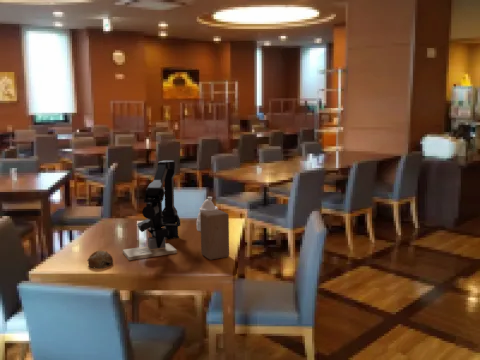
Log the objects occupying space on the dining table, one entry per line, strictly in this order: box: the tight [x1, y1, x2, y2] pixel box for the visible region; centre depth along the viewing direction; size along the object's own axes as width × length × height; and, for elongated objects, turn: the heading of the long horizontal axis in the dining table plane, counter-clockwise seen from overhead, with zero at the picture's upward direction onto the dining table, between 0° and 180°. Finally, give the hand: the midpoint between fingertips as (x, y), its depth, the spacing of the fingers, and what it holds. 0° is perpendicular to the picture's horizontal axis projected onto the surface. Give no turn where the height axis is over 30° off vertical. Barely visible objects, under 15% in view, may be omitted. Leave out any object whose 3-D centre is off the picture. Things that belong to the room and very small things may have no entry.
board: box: [122, 242, 178, 261], centre depth 219 cm, size 22×12×2 cm, turn 116°
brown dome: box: [87, 250, 114, 269], centre depth 204 cm, size 10×10×8 cm
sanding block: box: [147, 236, 166, 251], centre depth 220 cm, size 7×4×5 cm, turn 116°
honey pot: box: [196, 196, 219, 233], centre depth 258 cm, size 13×13×18 cm
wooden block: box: [200, 209, 230, 261], centre depth 213 cm, size 10×10×20 cm
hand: (157, 246), depth 221 cm, fingers closed on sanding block, 4 cm apart
